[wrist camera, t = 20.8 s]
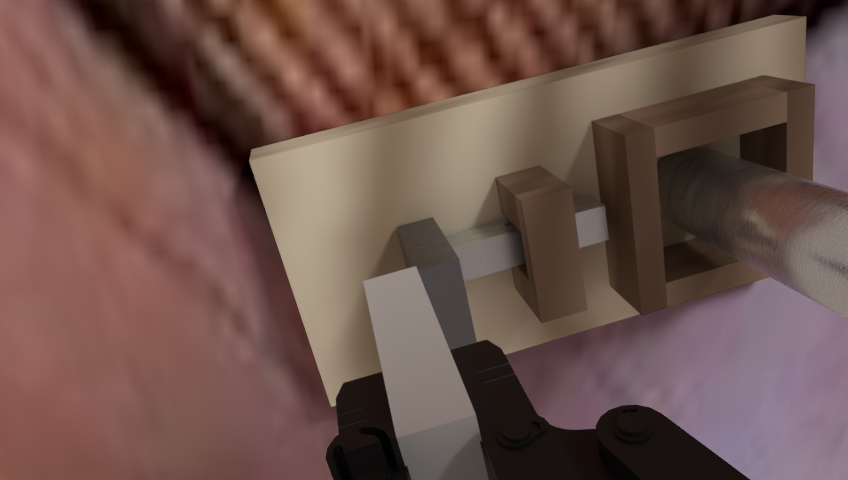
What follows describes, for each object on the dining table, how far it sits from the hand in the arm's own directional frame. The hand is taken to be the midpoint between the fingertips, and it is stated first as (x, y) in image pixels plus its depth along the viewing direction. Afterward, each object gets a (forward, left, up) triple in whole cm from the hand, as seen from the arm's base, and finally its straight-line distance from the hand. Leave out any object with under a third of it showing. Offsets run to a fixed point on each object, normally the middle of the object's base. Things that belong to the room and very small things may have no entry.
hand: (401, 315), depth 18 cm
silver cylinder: (-14, +3, -10) cm, 17 cm away
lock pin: (-5, +3, -9) cm, 11 cm away
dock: (-8, +3, -12) cm, 14 cm away
